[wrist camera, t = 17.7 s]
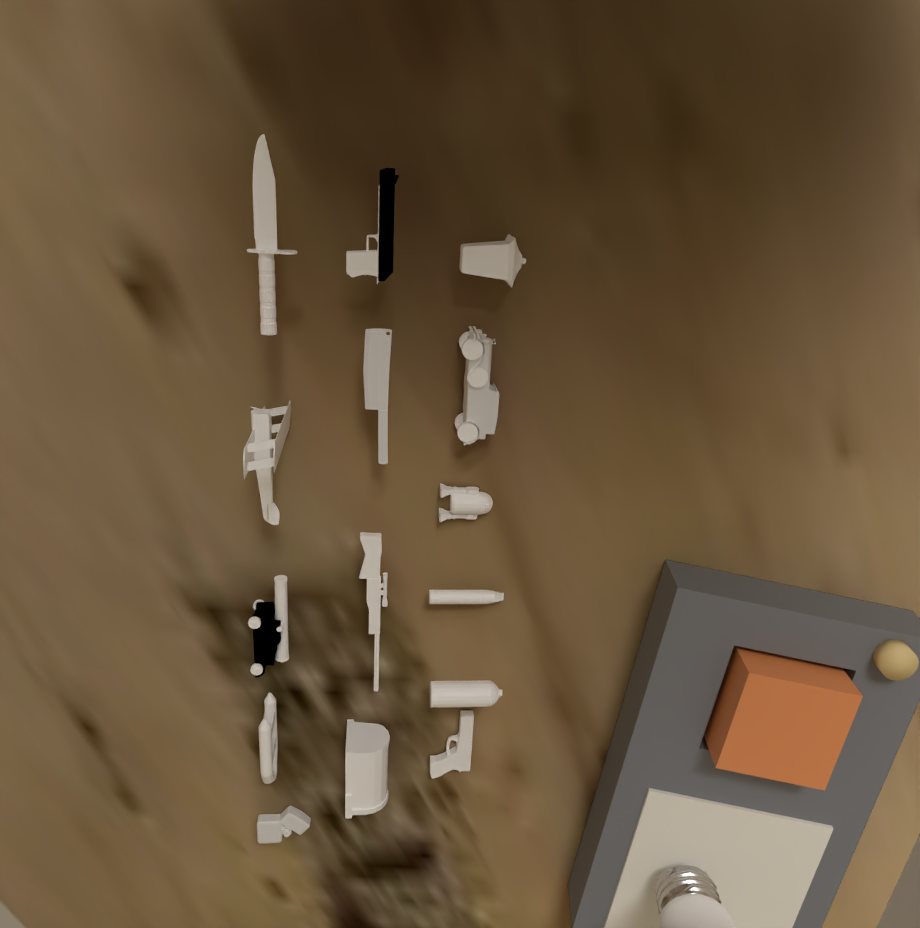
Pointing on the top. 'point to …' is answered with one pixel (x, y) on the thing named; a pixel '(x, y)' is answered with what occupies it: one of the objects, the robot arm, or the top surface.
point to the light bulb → (689, 900)
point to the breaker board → (731, 793)
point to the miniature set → (271, 620)
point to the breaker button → (781, 717)
